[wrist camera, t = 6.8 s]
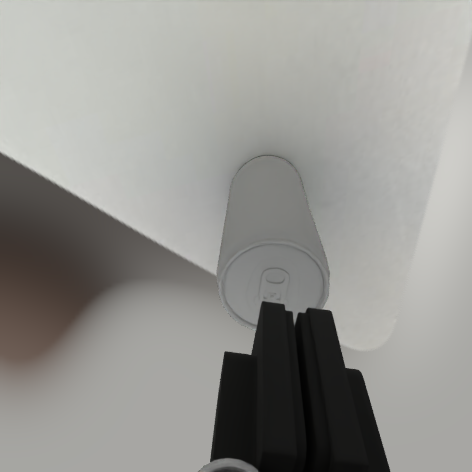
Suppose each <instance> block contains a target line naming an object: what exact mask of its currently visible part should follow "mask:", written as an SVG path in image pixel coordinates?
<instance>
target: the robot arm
mask: <svg viewBox="0 0 472 472" xmlns="http://www.w3.org/2000/svg"><path fill="white" fill-rule="evenodd" d="M198 472H390V469H389V465H388V462H387V458H386V455H385V451H384V448H383V444H382V441H381V437H380V434H379V431H378V427H377V424H376V420H375V417H374V414H373V410H372V406H371V403H370V399H369V396H368V393H367V389H366V386H365V382H364V379H363V376H362V373H361V372H360V371H359V370H356V369H349V368H345V364H344V360H343V356H342V352H341V348H340V344H339V340H338V336H337V332H336V328H335V323H334V319H333V315H332V312H331V311H330V310H323V309H316V308H309V307H308V308H307V310H306V312H305V313H302V312H299V313H298V314H297V318H296V322H295V326H294V319H293V312H292V311H287V310H285V305H284V304H280V303H273V302H266V301H262V303H261V307H260V312H259V318H258V323H257V328H256V333H255V339H254V344H253V350H252V354H251V355H248V354H241V353H233V352H225V353H224V359H223V365H222V372H221V379H220V387H219V393H218V401H217V409H216V418H215V425H214V435H213V442H212V450H211V459H210V463H209V464H207V465H205V466H203V468H201V470H199V471H198Z"/></svg>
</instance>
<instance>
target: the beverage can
mask: <svg viewBox="0 0 472 472" xmlns="http://www.w3.org/2000/svg"><path fill="white" fill-rule="evenodd" d="M329 277H330V272H329V267H328V263H327V259H326V255H325V252H324V249H323V246H322V243H321V240H320V237H319V234H318V231H317V228H316V225H315V222H314V219H313V217H312V214H311V211H310V208H309V205H308V202H307V198H306V195H305V191H304V188H303V185H302V181H301V178H300V176H299V174H298V172H297V170H296V169H295V168H294V167H293V166H292V164H291V163H289V162H288V161H286V160H284V159H282V158H279V157H275V156H261V157H258V158H254V159H252V160H251V161H249V162H247V163H246V164H245V165H244V166H243V167H242V168H241V169H240V170H239V171H238V172H237V174H236V175H235V177H234V178H233V181H232V184H231V187H230V193H229V199H228V206H227V211H226V217H225V223H224V230H223V236H222V242H221V248H220V255H219V261H218V267H217V286H218V289H219V297H220V299H221V302H222V305H223V307H224V308H225V310H226V311H227V312H228V314H229V315H230V316H231V317H232V318H233V319H234V320H235V321H237V322H238V323H239V324H241V325H243V326H245V327H247V328H249V329H251V330H254V331H256V328H257V323H258V318H259V312H260V307H261V303H262V301H266V302H273V303H280V304H284V305H285V310H287V311H292V312H293V319H294V326H295V322H296V318H297V314H298V313H299V312H302V313H305V312H306V310H307V308H308V307H309V308H316V309H323V307H324V305H325V303H326V300H327V298H328V295H329Z"/></svg>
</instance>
